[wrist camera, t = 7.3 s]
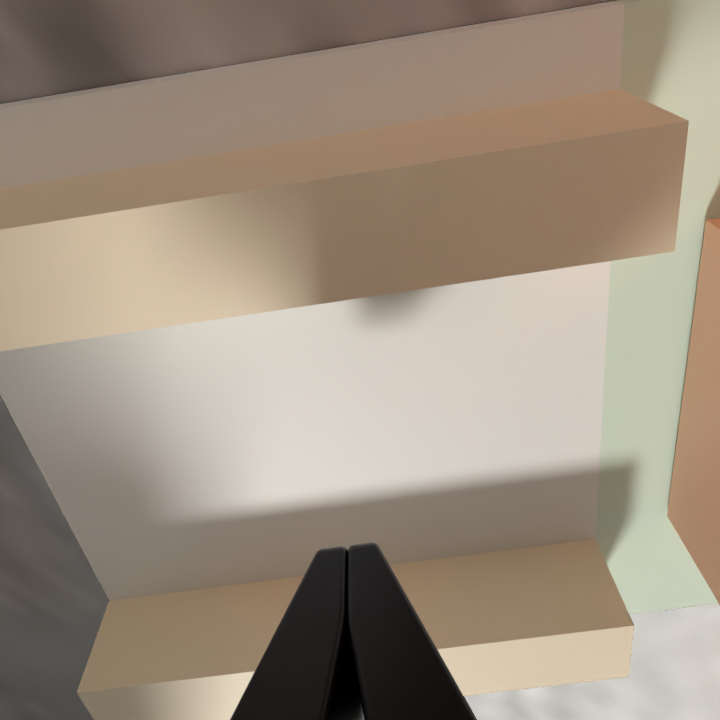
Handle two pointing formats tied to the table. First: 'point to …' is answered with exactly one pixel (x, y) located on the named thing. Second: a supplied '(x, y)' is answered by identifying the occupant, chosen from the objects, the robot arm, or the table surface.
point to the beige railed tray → (369, 340)
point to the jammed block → (701, 425)
